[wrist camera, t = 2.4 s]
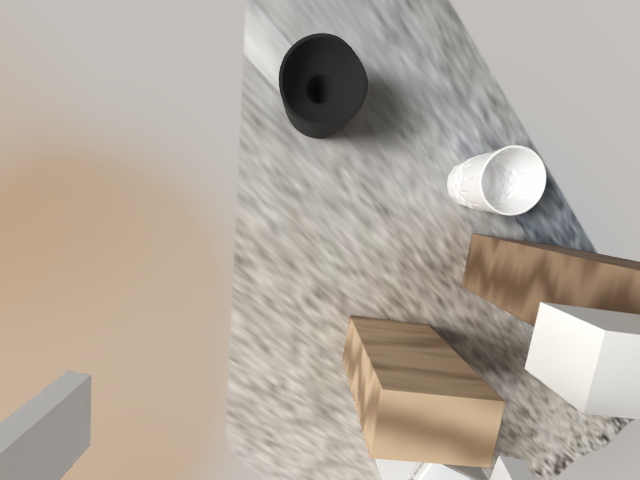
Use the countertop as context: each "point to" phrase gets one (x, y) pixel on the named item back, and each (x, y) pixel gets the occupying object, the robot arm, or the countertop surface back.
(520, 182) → the white cup
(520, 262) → the tall block
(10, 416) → the robot arm
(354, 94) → the pen holder
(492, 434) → the wooden block
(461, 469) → the supplement box
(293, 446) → the countertop surface
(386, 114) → the countertop surface
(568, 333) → the teal and white bar
